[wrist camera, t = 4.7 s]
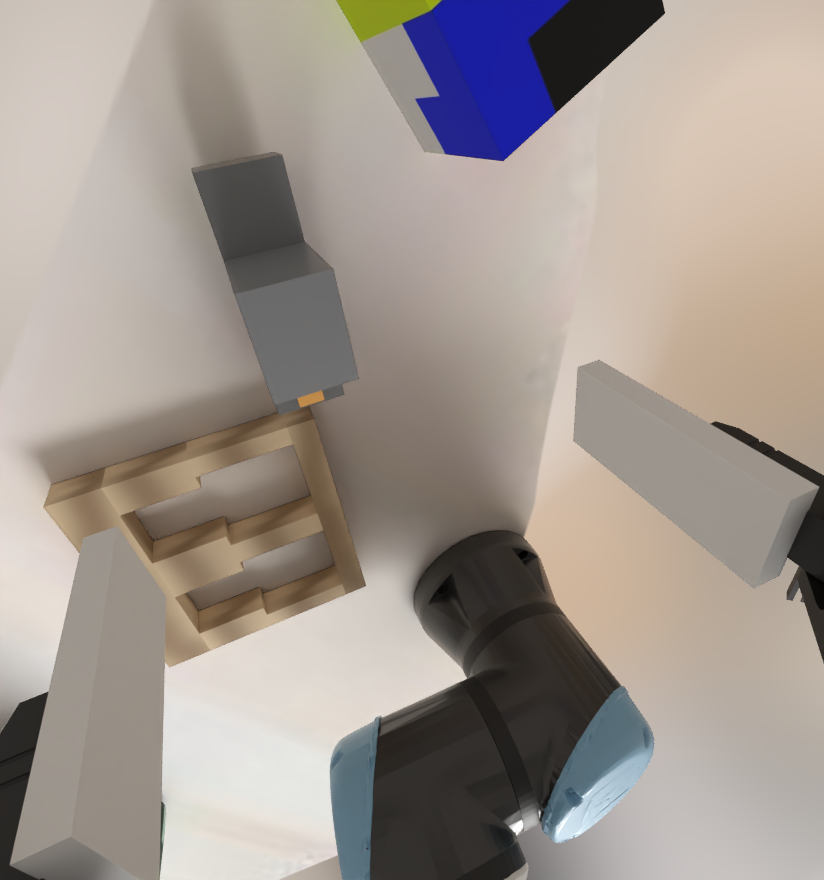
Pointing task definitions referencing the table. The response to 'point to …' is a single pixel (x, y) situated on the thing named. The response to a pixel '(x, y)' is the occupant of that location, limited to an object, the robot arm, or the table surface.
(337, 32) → the table surface
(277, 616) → the keyhole board
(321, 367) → the grey stepped block
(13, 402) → the table surface
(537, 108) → the puzzle toy
